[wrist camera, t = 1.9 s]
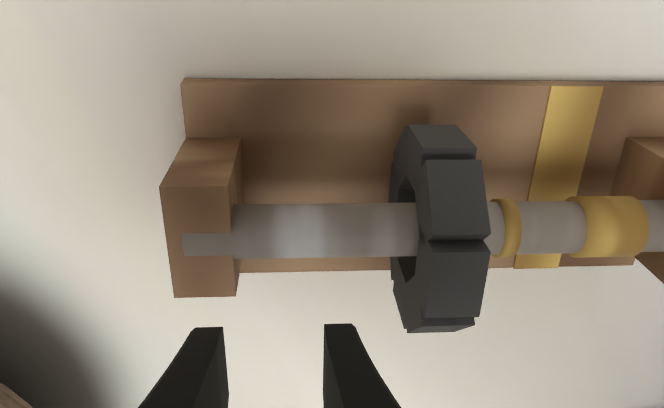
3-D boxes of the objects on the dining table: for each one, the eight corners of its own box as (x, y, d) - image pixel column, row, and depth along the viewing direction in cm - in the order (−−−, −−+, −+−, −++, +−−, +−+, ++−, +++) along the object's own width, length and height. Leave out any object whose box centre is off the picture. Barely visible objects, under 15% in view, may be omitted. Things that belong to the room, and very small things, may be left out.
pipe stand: (677, 81, 21) (796, 124, 16) (622, 255, 24) (706, 334, 19) (184, 78, 19) (147, 124, 14) (203, 263, 23) (179, 349, 18)
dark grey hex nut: (439, 106, 19) (504, 177, 13) (421, 259, 22) (468, 373, 16) (395, 106, 19) (442, 178, 13) (384, 259, 22) (417, 375, 16)
